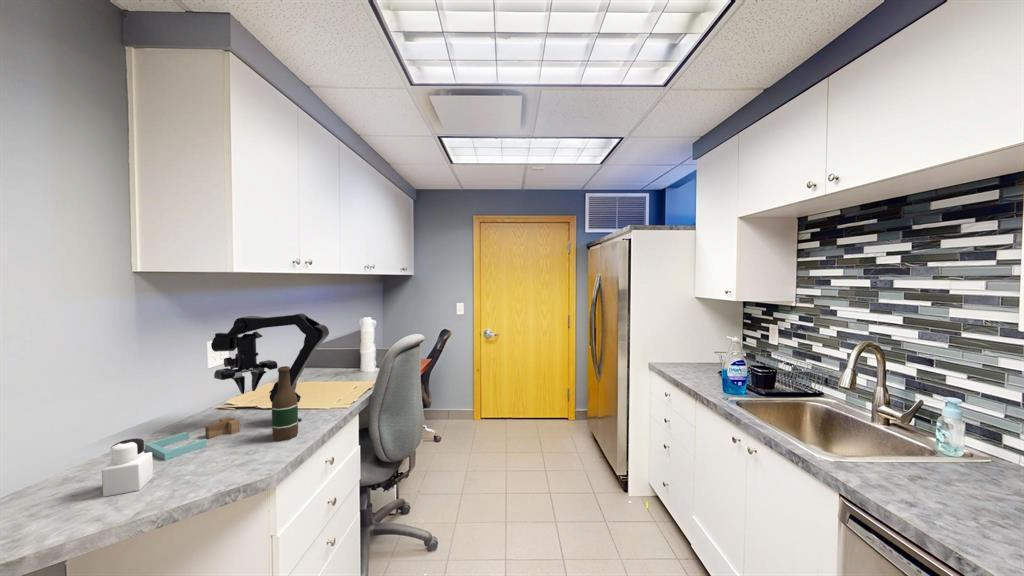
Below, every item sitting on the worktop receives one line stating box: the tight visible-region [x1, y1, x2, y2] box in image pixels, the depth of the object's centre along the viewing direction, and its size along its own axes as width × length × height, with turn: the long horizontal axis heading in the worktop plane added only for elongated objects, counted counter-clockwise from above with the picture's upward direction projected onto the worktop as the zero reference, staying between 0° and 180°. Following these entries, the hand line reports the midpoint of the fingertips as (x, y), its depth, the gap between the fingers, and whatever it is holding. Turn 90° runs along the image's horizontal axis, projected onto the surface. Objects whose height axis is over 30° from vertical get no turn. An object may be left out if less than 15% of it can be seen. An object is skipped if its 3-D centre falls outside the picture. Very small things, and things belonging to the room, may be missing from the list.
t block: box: [204, 416, 241, 440], centre depth 129 cm, size 8×8×4 cm
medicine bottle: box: [101, 438, 154, 497], centre depth 97 cm, size 7×7×12 cm
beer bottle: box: [271, 365, 299, 442], centre depth 126 cm, size 8×8×24 cm
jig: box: [144, 431, 208, 461], centre depth 119 cm, size 14×10×2 cm
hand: (248, 392), depth 137 cm, fingers open, 3 cm apart
